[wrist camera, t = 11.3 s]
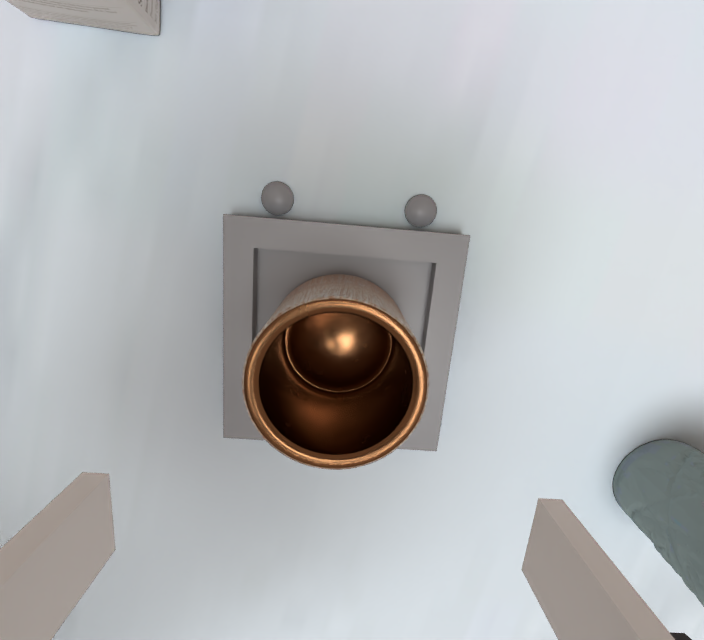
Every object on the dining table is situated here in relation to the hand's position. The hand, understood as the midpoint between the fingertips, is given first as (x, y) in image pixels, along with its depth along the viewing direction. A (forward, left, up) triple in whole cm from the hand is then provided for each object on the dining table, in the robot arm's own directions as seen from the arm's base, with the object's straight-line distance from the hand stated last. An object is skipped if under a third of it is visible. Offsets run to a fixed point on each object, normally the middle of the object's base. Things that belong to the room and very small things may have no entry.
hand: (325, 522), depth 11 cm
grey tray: (0, +1, -20) cm, 20 cm away
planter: (0, 0, -20) cm, 20 cm away
